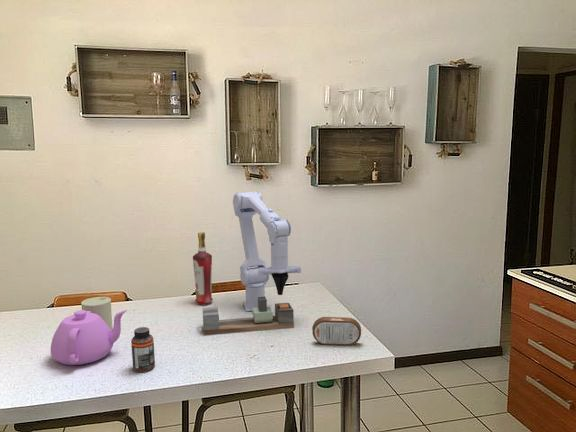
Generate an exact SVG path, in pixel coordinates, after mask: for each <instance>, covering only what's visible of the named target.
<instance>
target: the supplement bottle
mask: <svg viewBox="0 0 576 432" xmlns="http://www.w3.org/2000/svg"><path fill="white" fill-rule="evenodd" d="M133 331H134V332H133V333H134V334H133V335H134V336H133V337H132V338H131V339H130V340H131V341H130V342H131V343H130V345H131V356H132V369H133V370H134V372H138V373H144V372H145V371H146V372H148V371H151V370H153V369H154V368H155V366H156V360H155V359H156V358H155V344H154V343H155V342H154V341H155V340H154V336H153V335H152V334H151V332H150V328H149V327H148V326H147V327H146V326H141V327H138V328H137V327H136V328H135V329H134V330H133ZM146 372H145V373H146Z"/></svg>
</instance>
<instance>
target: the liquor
mask: <svg viewBox="0 0 576 432" xmlns="http://www.w3.org/2000/svg"><path fill="white" fill-rule="evenodd" d="M197 238H198V251H197V253H195V254H194V255H193V256H192V263H193V265H192V267H193V272H194V273H193V274H194V284H195V285H194V287H195V303H197V305H200V306H206V305H210V304H211V303H212V302H213V299H214V298H213V297H212V293H213V292H212V291H213V290H212V284H213V283H212V279H213V278H212V277H213V276H212V275H213V274H212V273H213V272H212V270H213V256H212V254H210V253H209V252H207V249H206V242H205V241H206V240H205V239H206V232H198V233H197Z"/></svg>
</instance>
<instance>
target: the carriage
mask: <svg viewBox="0 0 576 432" xmlns="http://www.w3.org/2000/svg"><path fill="white" fill-rule="evenodd" d="M267 304H268V301H267V298H266V296H265V297H258V307H255V308H253V311H252V317H253V318H254V323H260V322H272V319H273V316H274V315H273V311H272V308H271V306H269V305H267Z"/></svg>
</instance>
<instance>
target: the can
mask: <svg viewBox="0 0 576 432" xmlns="http://www.w3.org/2000/svg"><path fill="white" fill-rule="evenodd" d="M80 304H81V310H85V311H91V312H92V313H94V314H97V315H99V316H100V317H101V318H102V319H103V320H104V322H105V323H106V324H107V326H108V327H109V329H110V331H111V330H112V329H113V327H114V325H113V318H112V317H113V315H112V314H113V313H112V298H111V297H108V296H95V297H89V298H86V299H84V300H82V301H81V303H80Z"/></svg>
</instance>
